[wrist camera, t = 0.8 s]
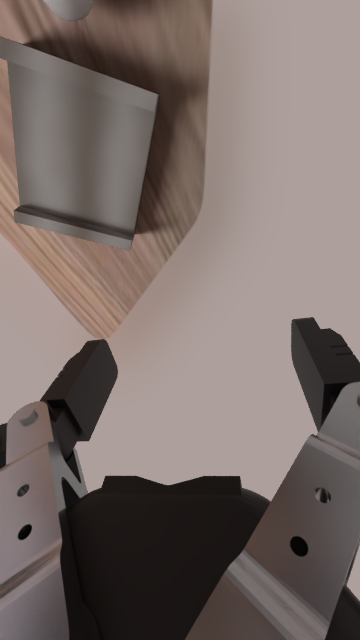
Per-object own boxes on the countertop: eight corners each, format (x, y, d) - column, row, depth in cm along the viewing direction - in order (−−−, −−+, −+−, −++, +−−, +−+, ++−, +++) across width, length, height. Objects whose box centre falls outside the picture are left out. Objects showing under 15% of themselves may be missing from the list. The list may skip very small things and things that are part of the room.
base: (32, 208, 31) (14, 222, 28) (22, 44, 23) (-5, 34, 19) (134, 234, 34) (129, 250, 30) (159, 94, 25) (157, 94, 22)
